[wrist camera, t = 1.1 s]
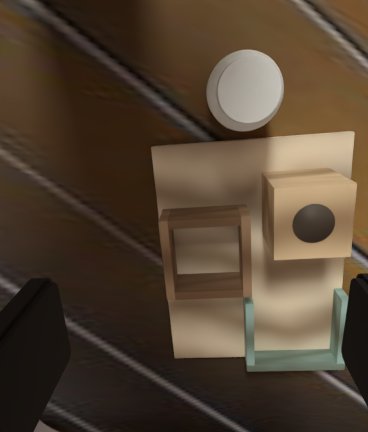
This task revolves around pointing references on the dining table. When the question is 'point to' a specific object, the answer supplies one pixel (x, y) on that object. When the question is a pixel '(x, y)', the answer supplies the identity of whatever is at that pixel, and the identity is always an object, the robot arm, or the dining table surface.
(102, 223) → the dining table surface
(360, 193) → the dining table surface
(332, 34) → the dining table surface
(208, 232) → the board
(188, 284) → the walnut ring block
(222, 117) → the pill bottle
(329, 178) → the oak block
